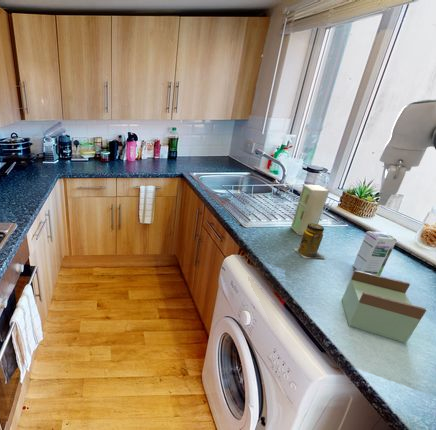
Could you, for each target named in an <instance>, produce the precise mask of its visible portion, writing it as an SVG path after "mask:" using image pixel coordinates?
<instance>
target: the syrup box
mask: <svg viewBox="0 0 436 430" xmlns="http://www.w3.org/2000/svg"><path fill="white" fill-rule="evenodd" d="M396 243H397V239H396V238H395V237H394V236H393V235H391V234H389V233H387V232H381V231H380V232H379V231H370V230H367V231H366V232H365V235H364V237H363V239H362V242H361V244H360V247H359V249H358V252H357V254H356V256H355V259H354V262H353V263H352V267H353V268H354V269H355V270H357V271H361V272H366V273H370V274H374V275H378V276H382V275H381V274H382V272H383V270H384V268H385V266H386V264H387V262H388V260H389V258H390V255H391V253H392V251H393V249H394V247H395V245H396Z"/></svg>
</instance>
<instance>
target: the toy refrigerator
mask: <svg viewBox="0 0 436 430" xmlns="http://www.w3.org/2000/svg"><path fill="white" fill-rule="evenodd" d="M329 193H330V190H329V189H327V188H325V187H323V186H321V185H319V184H303V185H302V188H301V192H300V195H299V197H298V198H299V199H298V202H297V205H296V209H295V212H294V216H293V218H292V222H291V226H290V228H291V229H292V230H293V231H294V233H296V234H297V235H298V236H303V234H304V231H305V230H306V228H307V226H308V224H311V223H313V224H318V225H319V222H320V219H321V217H322V213H323V210H324V207H325V205H326V202H327V200H328V196H329Z"/></svg>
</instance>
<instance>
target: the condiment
mask: <svg viewBox="0 0 436 430" xmlns="http://www.w3.org/2000/svg"><path fill="white" fill-rule="evenodd" d="M324 232H325V227H324V226H323V225H321V224H319V223H318V224H313V223H311V224H308V226H307V228H306V230H305V231H304V234H303V235H302V237H301V239H300V240H301V241H300V243H299V246H298V247H297V248H294V247H293V250H295V252H296V253H298V255H300V256H301V257H302V258H304V259H326V257H325V256H324V255H323V254H321V253H320V252H319V249H320V246H321V243H322V241H323V238H324V234H323V233H324Z"/></svg>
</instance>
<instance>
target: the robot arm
mask: <svg viewBox="0 0 436 430" xmlns="http://www.w3.org/2000/svg"><path fill="white" fill-rule="evenodd" d="M430 147H432V148H434V149H435V150H436V99H423V100H417V101H413V102H410V103H408V104H406V105H404V107H403V108H402V109H401V111H400V112H399V114H398V115H397V118H396V119H395V121H394V124H393V127H392V128H391V132H390V138H389V140H388V141H387V142H386V144H385V145H384V148H383V150H382V153H381V155H380V158H379V162H381V163H383V164H382V168H383V171H382V175H381V182H380V190H379V194H378V196H379V199H378V202H377V204H378V205H379V206H386V205H387V203H388V201H389V199H390V198H391V196H395V195H397V193H398V192H399V190H400V187H401V185H402V183H403V180H404V179H405V176H406V173H407V172H410V171H411V170H412V168H415V167H419V166H420V164H421V161H422V160H423V157H424V155H425V153H426V151H427V149H428V148H430Z"/></svg>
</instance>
